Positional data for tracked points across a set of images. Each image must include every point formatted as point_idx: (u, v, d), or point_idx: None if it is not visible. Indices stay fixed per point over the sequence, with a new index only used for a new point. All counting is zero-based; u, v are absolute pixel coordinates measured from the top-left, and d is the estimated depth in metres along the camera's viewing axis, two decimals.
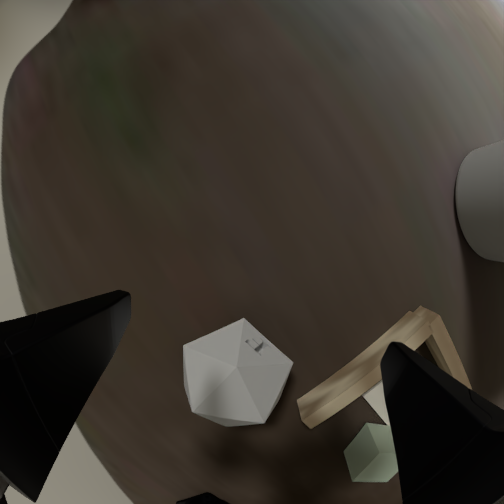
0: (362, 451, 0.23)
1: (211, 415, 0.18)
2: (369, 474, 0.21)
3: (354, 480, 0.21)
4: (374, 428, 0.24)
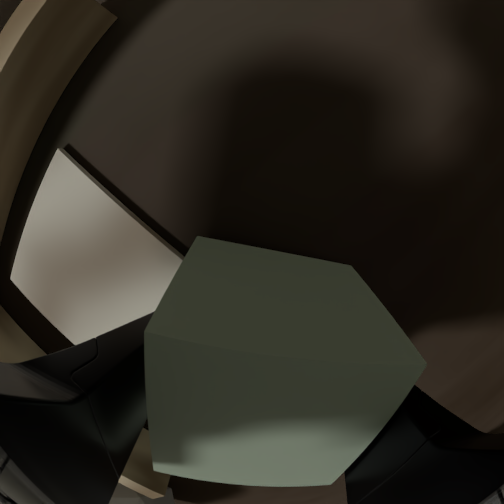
0: None
1: None
2: (299, 468, 0.05)
3: (327, 482, 0.06)
4: None
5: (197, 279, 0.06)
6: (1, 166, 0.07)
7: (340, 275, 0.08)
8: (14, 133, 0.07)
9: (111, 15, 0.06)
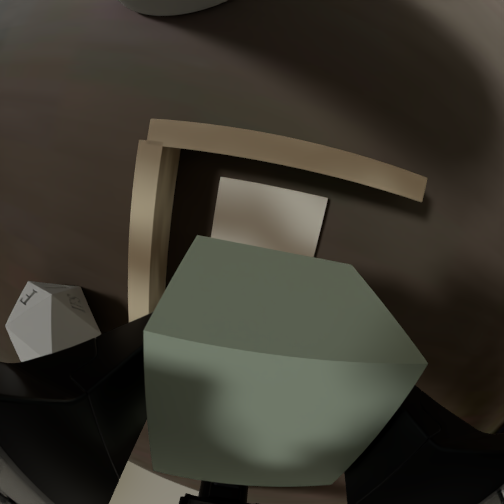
0: None
1: None
2: (299, 468, 0.05)
3: (328, 482, 0.06)
4: None
5: (197, 278, 0.06)
6: None
7: (340, 274, 0.08)
8: None
9: None
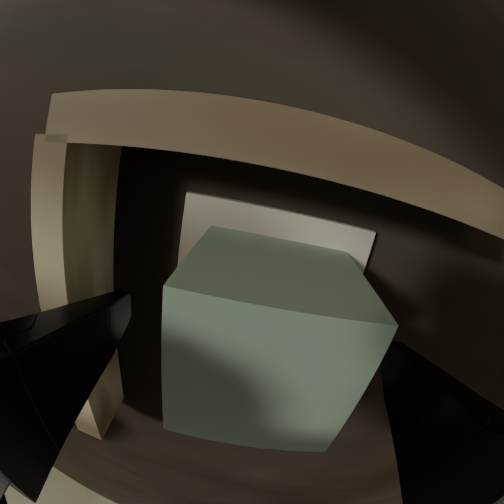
0: None
1: None
2: (292, 428, 0.07)
3: (321, 448, 0.07)
4: None
5: (208, 255, 0.07)
6: None
7: (333, 258, 0.09)
8: None
9: None
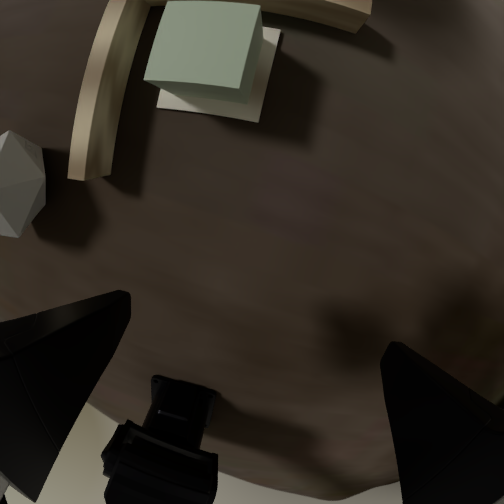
0: (194, 90, 0.14)
1: None
2: (215, 60, 0.11)
3: (236, 84, 0.12)
4: None
5: None
6: (261, 1, 0.13)
7: None
8: (282, 5, 0.13)
9: (356, 31, 0.14)
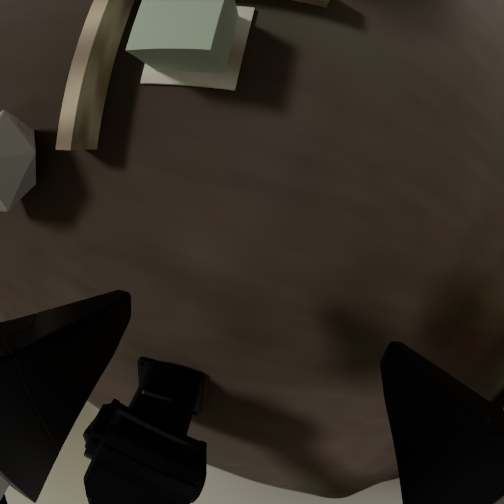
0: (172, 60, 0.14)
1: None
2: (189, 28, 0.11)
3: (207, 46, 0.12)
4: None
5: None
6: None
7: None
8: None
9: (326, 5, 0.14)
